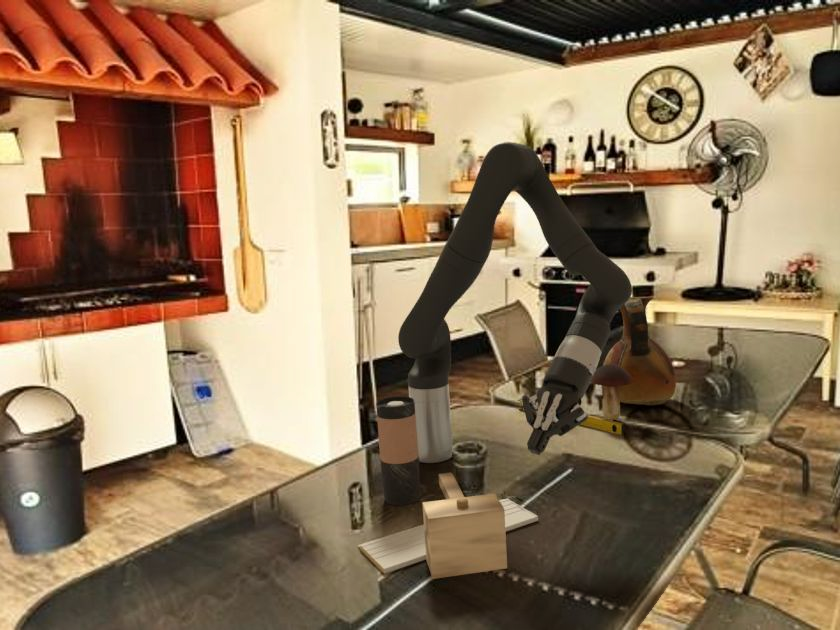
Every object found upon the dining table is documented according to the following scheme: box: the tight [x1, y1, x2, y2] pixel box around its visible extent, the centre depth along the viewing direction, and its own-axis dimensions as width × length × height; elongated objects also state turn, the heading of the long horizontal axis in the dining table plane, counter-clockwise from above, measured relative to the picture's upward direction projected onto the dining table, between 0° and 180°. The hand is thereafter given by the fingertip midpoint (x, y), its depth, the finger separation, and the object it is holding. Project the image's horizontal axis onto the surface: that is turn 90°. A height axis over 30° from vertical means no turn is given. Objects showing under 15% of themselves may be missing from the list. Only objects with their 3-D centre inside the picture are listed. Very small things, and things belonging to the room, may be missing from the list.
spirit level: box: [517, 398, 626, 436], centre depth 175 cm, size 33×1×3 cm, turn 40°
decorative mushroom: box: [590, 364, 633, 421], centre depth 171 cm, size 11×11×15 cm
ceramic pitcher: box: [601, 296, 677, 406], centre depth 184 cm, size 20×20×30 cm
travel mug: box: [375, 395, 421, 507], centre depth 133 cm, size 8×8×20 cm
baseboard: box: [357, 491, 539, 574], centre depth 119 cm, size 31×3×12 cm
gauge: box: [421, 471, 508, 580], centre depth 113 cm, size 18×12×11 cm, turn 9°
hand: (533, 451), depth 113 cm, fingers closed
